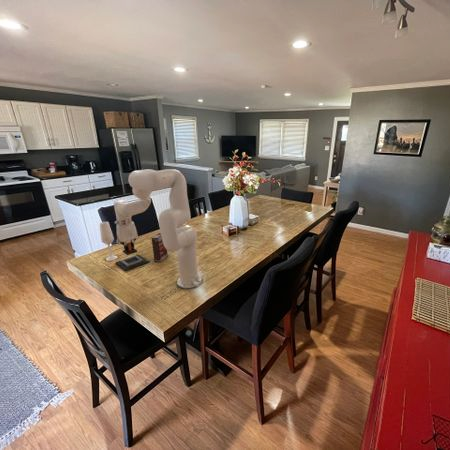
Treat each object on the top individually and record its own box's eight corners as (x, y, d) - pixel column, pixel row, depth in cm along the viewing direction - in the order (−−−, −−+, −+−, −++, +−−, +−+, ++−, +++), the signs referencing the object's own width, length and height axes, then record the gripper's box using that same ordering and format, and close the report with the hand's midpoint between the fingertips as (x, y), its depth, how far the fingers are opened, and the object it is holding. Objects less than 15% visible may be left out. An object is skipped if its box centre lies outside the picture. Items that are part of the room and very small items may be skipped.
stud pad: (137, 251, 146) (135, 242, 143) (127, 255, 141) (125, 245, 139) (132, 249, 149) (131, 239, 147) (122, 252, 145) (121, 242, 143)
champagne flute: (118, 255, 157) (111, 220, 149) (116, 259, 151) (109, 224, 143) (106, 256, 155) (98, 221, 147) (104, 261, 149) (96, 225, 141)
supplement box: (161, 261, 149) (157, 238, 144) (154, 261, 150) (150, 237, 145) (168, 255, 157) (165, 233, 152) (161, 254, 158) (158, 232, 153)
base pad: (148, 262, 148) (148, 259, 148) (125, 271, 138) (124, 268, 138) (138, 255, 157) (137, 252, 156) (115, 263, 147) (115, 260, 146)
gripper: (112, 226, 130) (118, 256, 137) (141, 219, 142) (145, 247, 148) (106, 223, 135) (113, 252, 141) (135, 216, 147) (140, 244, 153)
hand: (129, 249), depth 145 cm, fingers closed on stud pad, 2 cm apart
